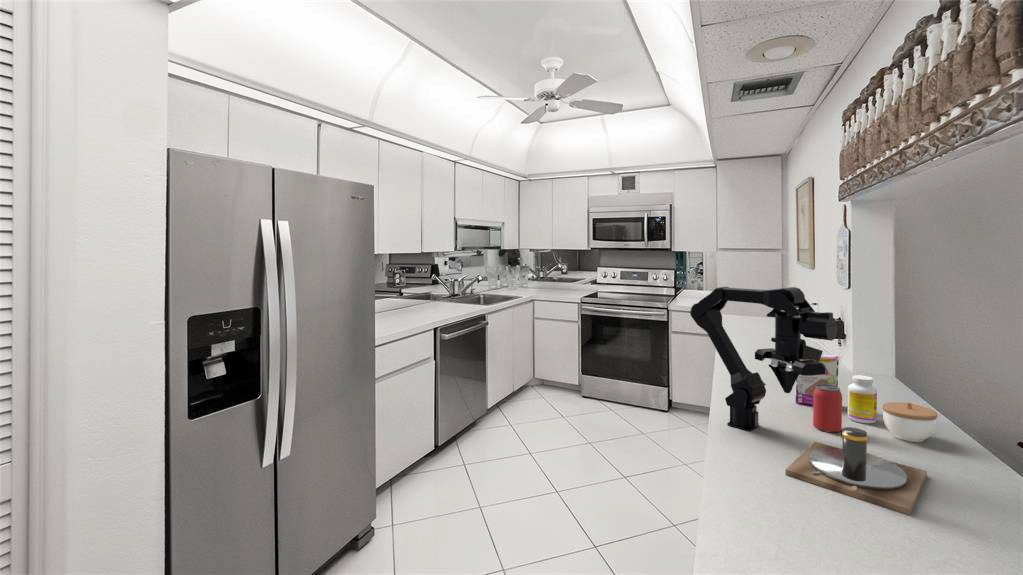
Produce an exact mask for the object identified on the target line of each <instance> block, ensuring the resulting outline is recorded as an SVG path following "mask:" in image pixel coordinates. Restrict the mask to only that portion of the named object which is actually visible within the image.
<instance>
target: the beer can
mask: <svg viewBox="0 0 1023 575" xmlns="http://www.w3.org/2000/svg"><path fill="white" fill-rule="evenodd" d="M842 394H843V393H842V392H841V388H840V387H839V386H838V387H836V386H833V385H826V384H819V385H816V388H815V390H814V393H813V405H812V409H813V410H812V411H813V412H812V425H813V426H814V428H815V429H817V430H819V431H823V432H826V433H838V432H842V430H843V426H842V425H843V395H842Z"/></svg>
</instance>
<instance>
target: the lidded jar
mask: <svg viewBox="0 0 1023 575" xmlns="http://www.w3.org/2000/svg"><path fill="white" fill-rule="evenodd" d="M881 407H882V417H883V423H884V426H885V427H886V428H887V430H888V431H889V432H890V433H891V434H892V435H893V437H895V438H897V439H900V440H903V441H907V442H913V443H921V442H924V441H925V440H927V439H929V438H930V437H931V436H932V435H933V434H934V432H935V431H936V427H937V418H938V412H936V410H934V409H931V408H929V407H926V406H922V405H918V404H913V403H912V402H908V401H907V402H896V401H893V402H892V401H891V402H890V401H889V402H885V403H883V404H882V406H881Z"/></svg>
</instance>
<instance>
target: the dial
mask: <svg viewBox="0 0 1023 575" xmlns="http://www.w3.org/2000/svg"><path fill="white" fill-rule="evenodd" d="M841 437H842V447H837V448H820V449H816V450H814V451H812V452H811V453H810V454H809V462H810V464H811V466H812V467H813V468H814V469H815V470H816V471H818V472H820V473H821V474H823V475H825V476H827V477H829V478H831V479H833V480H836V481H838V482H841V483H844V484H848V485H851V486H857V487H860V488H865V489H871V490H885V491H887V490H897V489H901V488H903V487H904V486H905V485H906V483H907V475H906V473H905V472H904V471H903V470H902V469H901V468H900V467H898V466H897V465H895V464H893V463H892V462H893V461H891V462H889V461H890V460H887V459H885V458H883V457H880V456H876V455H873V454H871V453H867V450H868V444H867V443H868V439H869V438H868V437H869V435H868V432H867V431H866V430H864V429H861V428H857V427H848V426H847V427H842V430H841Z"/></svg>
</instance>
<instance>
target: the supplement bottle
mask: <svg viewBox="0 0 1023 575" xmlns="http://www.w3.org/2000/svg"><path fill="white" fill-rule="evenodd" d="M851 380H852V383H851V384H849V385H848V386H847V418H848V419H850V421H853V422H856V423H861V424H862V423H863V424H875V423H876V422H877V412H878V390H877V389H876V387H874V386H873V383H874V378H873V377H871V376H866V375H859V374H855V375H852V377H851Z"/></svg>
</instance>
